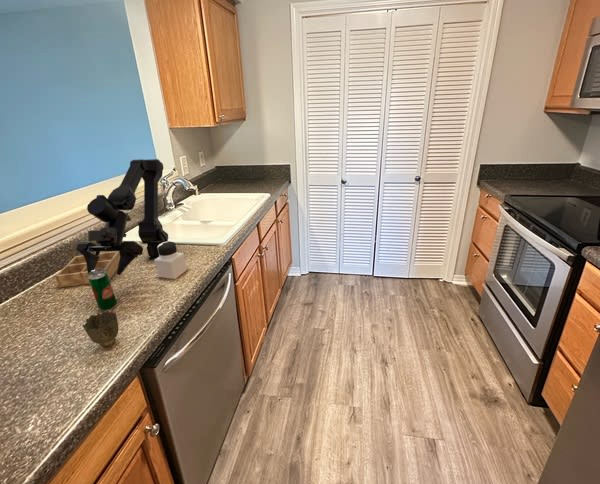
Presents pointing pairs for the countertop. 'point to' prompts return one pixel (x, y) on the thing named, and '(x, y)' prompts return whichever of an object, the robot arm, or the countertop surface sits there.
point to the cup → (102, 328)
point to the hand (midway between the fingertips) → (104, 275)
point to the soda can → (102, 289)
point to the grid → (78, 271)
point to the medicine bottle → (169, 261)
